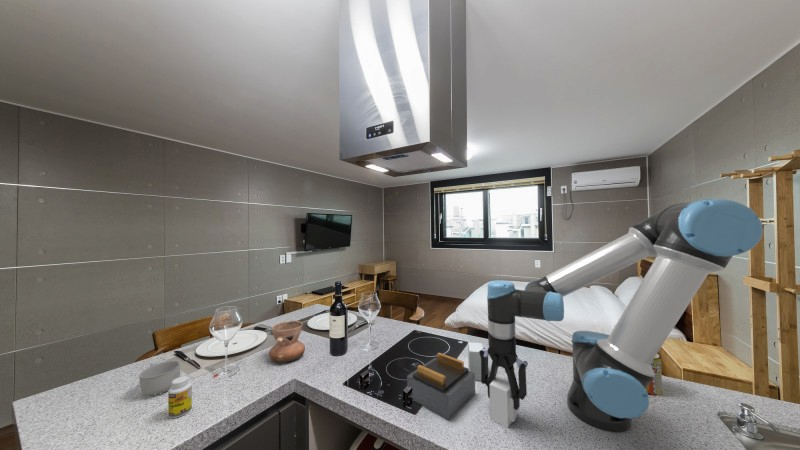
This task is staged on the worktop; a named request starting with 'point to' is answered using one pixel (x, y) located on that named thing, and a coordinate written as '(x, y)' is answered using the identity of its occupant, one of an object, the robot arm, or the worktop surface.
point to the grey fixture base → (442, 385)
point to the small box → (475, 359)
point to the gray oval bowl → (159, 377)
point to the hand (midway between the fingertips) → (503, 413)
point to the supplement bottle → (179, 397)
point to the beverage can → (655, 377)
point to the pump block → (500, 400)
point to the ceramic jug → (287, 341)
